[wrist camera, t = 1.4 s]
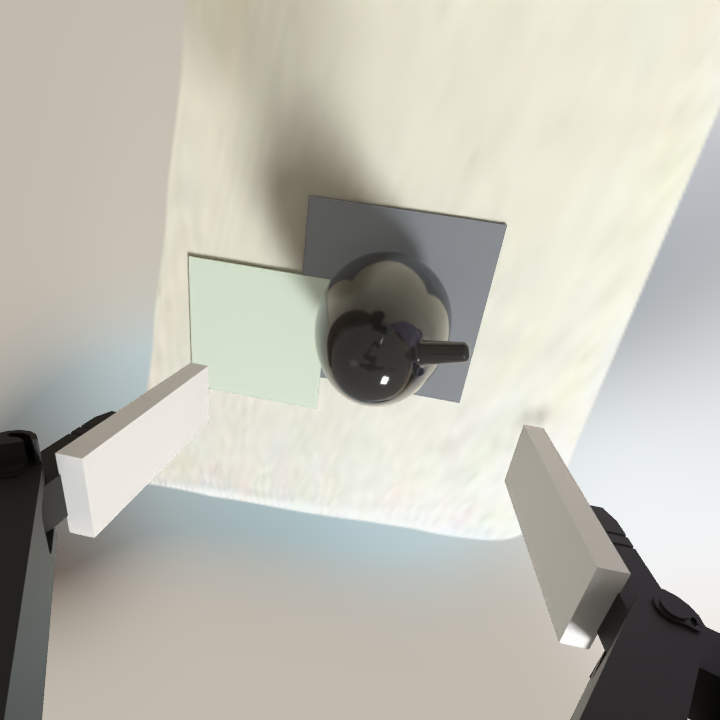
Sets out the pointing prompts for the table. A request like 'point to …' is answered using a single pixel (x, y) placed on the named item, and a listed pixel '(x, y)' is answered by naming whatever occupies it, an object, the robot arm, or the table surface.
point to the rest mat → (256, 330)
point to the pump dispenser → (384, 328)
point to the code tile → (422, 241)
